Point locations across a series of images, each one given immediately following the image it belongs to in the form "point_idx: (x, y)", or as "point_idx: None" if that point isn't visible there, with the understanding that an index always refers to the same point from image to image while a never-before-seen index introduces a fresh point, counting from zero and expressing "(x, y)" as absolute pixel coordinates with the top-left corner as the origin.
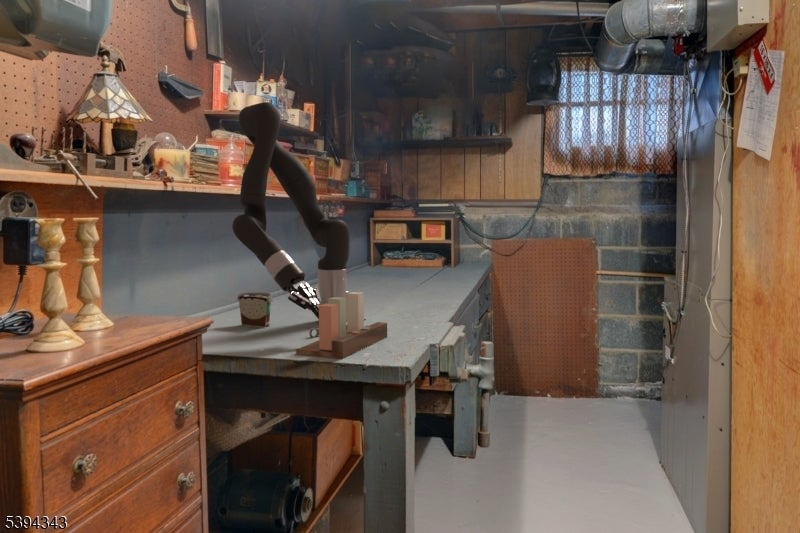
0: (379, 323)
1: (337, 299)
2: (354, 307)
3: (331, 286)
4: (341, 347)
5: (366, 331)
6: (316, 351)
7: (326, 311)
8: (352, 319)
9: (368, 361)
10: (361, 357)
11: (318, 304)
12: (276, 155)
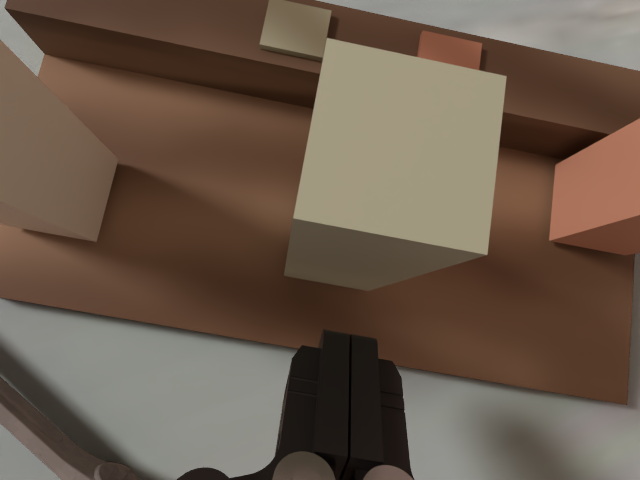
0: None
1: (502, 108)
2: (11, 108)
3: None
4: None
5: (374, 16)
6: (633, 268)
7: None
8: (68, 174)
9: (626, 5)
10: (569, 50)
11: (323, 449)
12: None
